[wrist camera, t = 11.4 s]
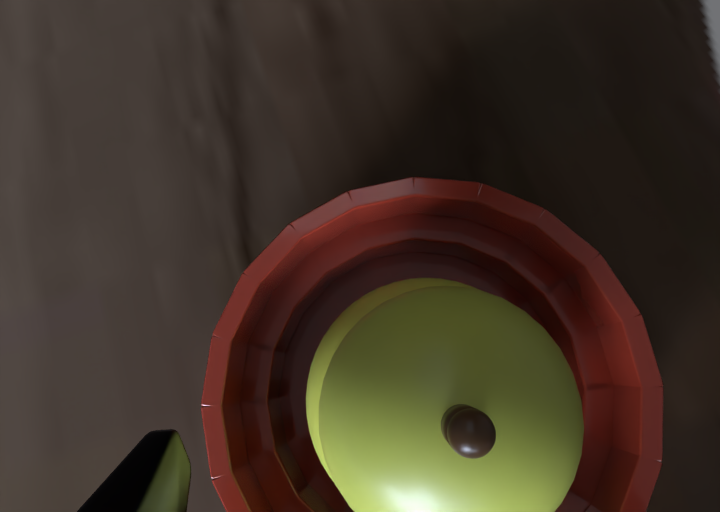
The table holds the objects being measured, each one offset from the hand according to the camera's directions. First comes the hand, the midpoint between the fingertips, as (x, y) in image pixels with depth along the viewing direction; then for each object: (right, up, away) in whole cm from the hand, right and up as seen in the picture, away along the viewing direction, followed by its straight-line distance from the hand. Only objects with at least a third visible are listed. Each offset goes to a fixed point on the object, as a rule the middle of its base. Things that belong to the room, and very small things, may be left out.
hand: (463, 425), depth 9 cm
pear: (0, -2, +10) cm, 10 cm away
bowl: (0, -2, +11) cm, 11 cm away
